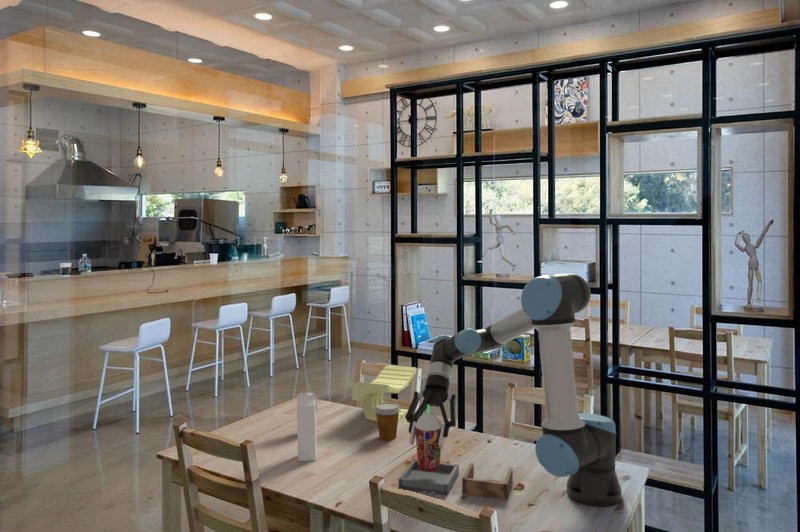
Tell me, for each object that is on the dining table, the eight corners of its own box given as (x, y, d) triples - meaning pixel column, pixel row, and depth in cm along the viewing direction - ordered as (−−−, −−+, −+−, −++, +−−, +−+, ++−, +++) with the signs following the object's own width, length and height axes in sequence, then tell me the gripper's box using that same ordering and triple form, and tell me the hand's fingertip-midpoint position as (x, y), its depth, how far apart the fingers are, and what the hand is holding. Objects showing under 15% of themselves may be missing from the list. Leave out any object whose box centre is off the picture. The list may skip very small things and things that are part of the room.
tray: (458, 474, 182) (458, 464, 181) (447, 495, 167) (447, 485, 167) (413, 468, 186) (413, 459, 186) (398, 488, 172) (398, 478, 172)
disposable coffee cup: (405, 438, 214) (405, 406, 213) (383, 443, 208) (383, 411, 208) (391, 431, 222) (390, 400, 221) (370, 436, 216) (369, 405, 215)
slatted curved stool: (383, 404, 256) (382, 364, 255) (416, 407, 250) (415, 367, 249) (352, 425, 229) (351, 381, 228) (389, 430, 223) (388, 384, 222)
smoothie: (440, 475, 172) (440, 409, 171) (413, 473, 174) (412, 408, 172) (444, 463, 180) (443, 401, 179) (417, 462, 182) (417, 400, 180)
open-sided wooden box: (512, 482, 175) (512, 467, 175) (507, 499, 164) (507, 484, 164) (470, 477, 179) (470, 462, 179) (462, 493, 168) (462, 478, 168)
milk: (315, 460, 194) (314, 396, 192) (297, 461, 193) (296, 397, 192) (316, 453, 200) (315, 391, 198) (299, 454, 199) (297, 392, 198)
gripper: (472, 387, 187) (462, 454, 172) (410, 382, 193) (395, 446, 179) (468, 375, 181) (458, 443, 167) (405, 371, 188) (389, 435, 174)
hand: (425, 444), depth 173 cm, fingers closed on smoothie, 8 cm apart
